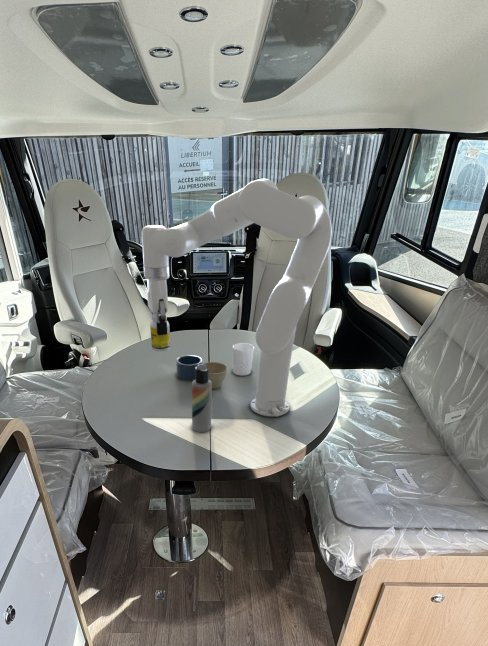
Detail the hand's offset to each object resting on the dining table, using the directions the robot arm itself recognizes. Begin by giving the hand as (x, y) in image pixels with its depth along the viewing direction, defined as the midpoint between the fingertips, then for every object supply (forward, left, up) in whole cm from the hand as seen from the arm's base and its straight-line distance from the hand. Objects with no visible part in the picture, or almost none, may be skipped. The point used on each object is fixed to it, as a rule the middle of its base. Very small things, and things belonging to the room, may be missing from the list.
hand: (160, 330), depth 143 cm
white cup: (+8, -32, -21) cm, 39 cm away
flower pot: (-1, -18, -21) cm, 28 cm away
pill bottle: (0, 0, -6) cm, 6 cm away
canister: (+10, -12, -21) cm, 26 cm away
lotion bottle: (-28, -7, -21) cm, 36 cm away
